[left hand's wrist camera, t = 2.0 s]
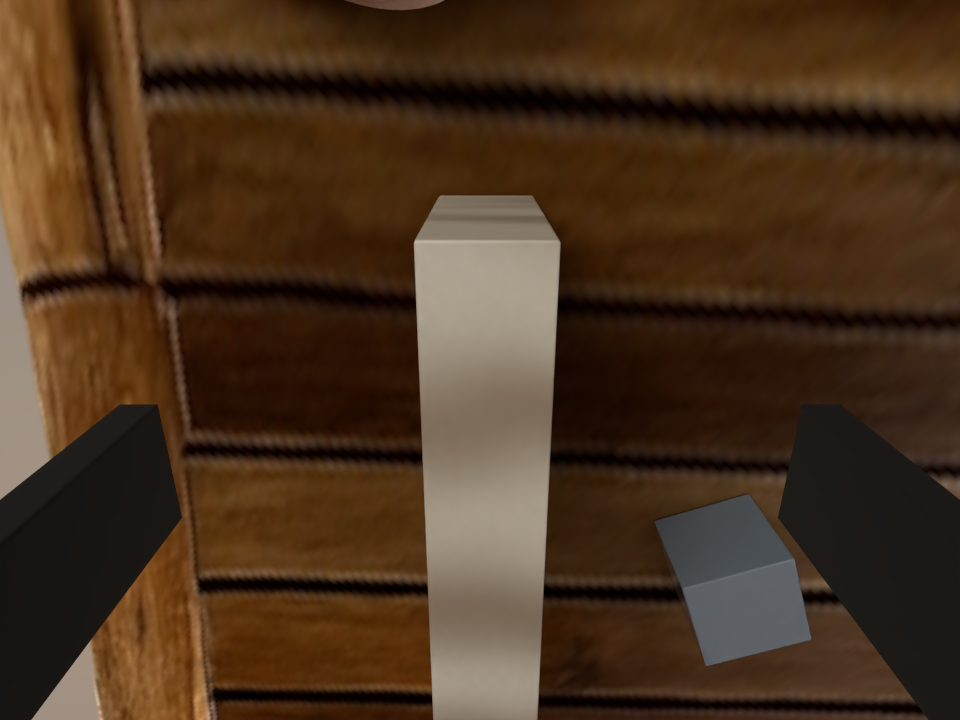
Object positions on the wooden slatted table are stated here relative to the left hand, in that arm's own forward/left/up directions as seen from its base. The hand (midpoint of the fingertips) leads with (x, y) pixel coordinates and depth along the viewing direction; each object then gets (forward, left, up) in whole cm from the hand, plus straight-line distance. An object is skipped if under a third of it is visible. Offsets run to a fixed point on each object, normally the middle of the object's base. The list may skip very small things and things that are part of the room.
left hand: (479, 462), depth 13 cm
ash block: (0, +8, -16) cm, 18 cm away
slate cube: (-12, +14, -16) cm, 24 cm away
